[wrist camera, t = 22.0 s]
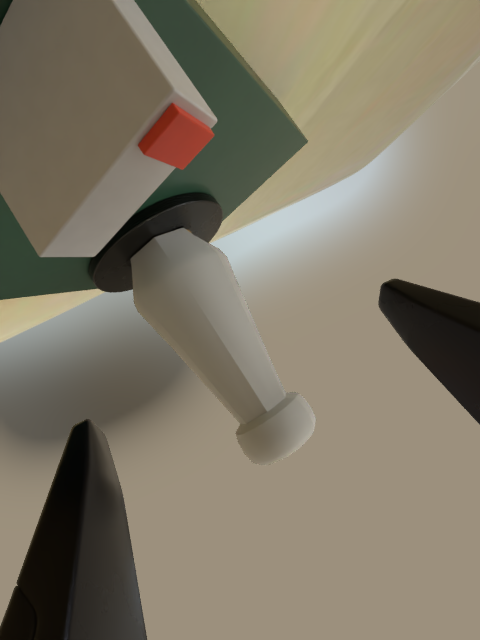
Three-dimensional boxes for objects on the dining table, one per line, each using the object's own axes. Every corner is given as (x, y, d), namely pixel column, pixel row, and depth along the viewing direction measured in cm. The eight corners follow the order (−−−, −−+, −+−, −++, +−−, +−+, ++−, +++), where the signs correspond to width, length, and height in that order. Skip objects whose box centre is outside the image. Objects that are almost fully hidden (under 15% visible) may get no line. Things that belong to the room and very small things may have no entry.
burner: (57, 290, 19) (63, 300, 19) (157, 178, 15) (165, 190, 15) (157, 280, 26) (161, 287, 26) (239, 203, 23) (245, 211, 22)
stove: (-389, 242, 9) (-340, 345, 9) (-499, -1203, 2) (-307, -973, 2) (136, 249, 27) (158, 283, 27) (298, 82, 20) (330, 125, 20)
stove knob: (19, 137, 10) (100, 265, 9) (-47, 117, 8) (44, 267, 8) (118, -23, 8) (225, 129, 7) (53, -87, 6) (182, 99, 6)
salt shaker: (206, 244, 24) (318, 411, 22) (130, 289, 23) (241, 465, 22) (200, 201, 18) (351, 425, 16) (99, 261, 17) (248, 499, 16)
